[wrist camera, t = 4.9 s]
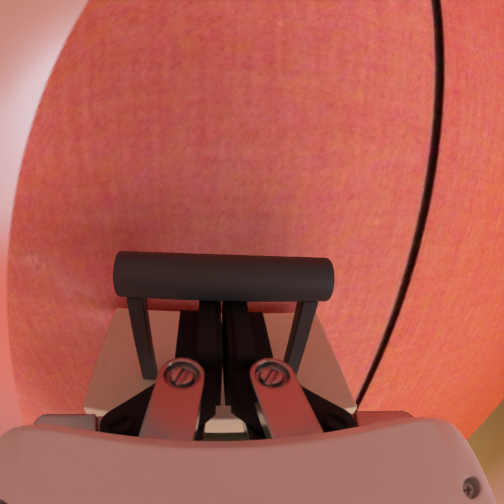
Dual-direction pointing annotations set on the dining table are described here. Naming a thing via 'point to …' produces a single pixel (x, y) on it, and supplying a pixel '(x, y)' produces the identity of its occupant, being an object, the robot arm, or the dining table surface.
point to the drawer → (221, 289)
